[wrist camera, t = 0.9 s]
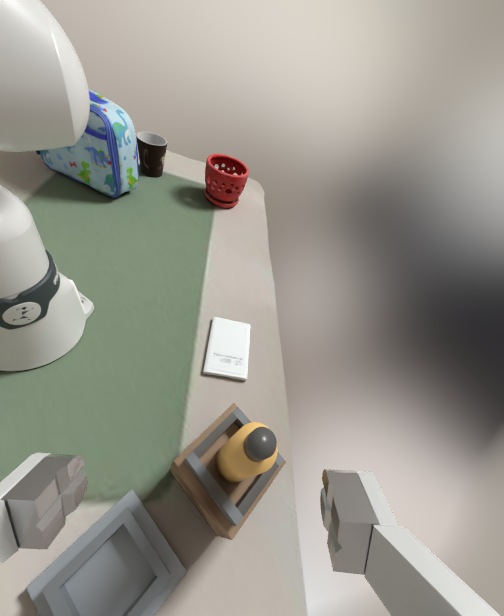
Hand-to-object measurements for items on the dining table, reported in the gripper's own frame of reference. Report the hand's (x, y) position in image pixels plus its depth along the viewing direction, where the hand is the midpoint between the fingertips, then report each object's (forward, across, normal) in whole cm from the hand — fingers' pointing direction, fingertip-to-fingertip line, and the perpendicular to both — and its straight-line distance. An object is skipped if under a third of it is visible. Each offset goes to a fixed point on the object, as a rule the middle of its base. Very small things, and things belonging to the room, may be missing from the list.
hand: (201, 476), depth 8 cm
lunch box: (+67, +48, -25) cm, 86 cm away
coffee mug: (+81, +37, -30) cm, 93 cm away
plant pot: (+83, +14, -22) cm, 87 cm away
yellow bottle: (+18, +1, +18) cm, 26 cm away
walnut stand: (+23, +4, +24) cm, 33 cm away
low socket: (+12, +14, +28) cm, 33 cm away
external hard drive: (+40, +5, +13) cm, 42 cm away
